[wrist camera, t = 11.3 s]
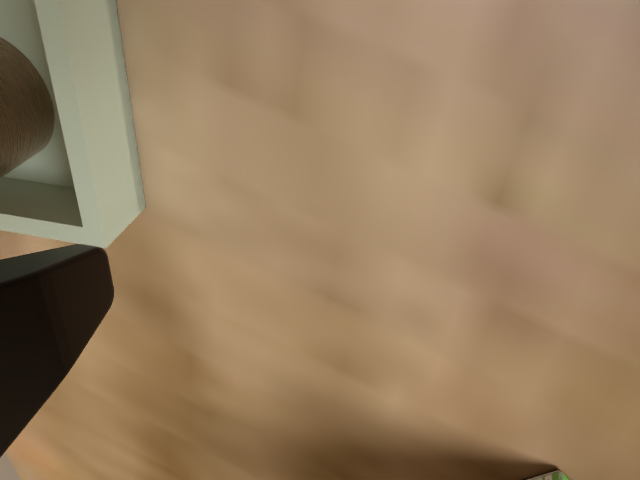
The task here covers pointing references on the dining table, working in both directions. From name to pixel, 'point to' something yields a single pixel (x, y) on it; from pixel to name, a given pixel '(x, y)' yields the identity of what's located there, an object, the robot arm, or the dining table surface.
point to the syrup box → (551, 476)
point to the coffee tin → (22, 109)
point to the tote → (75, 125)
